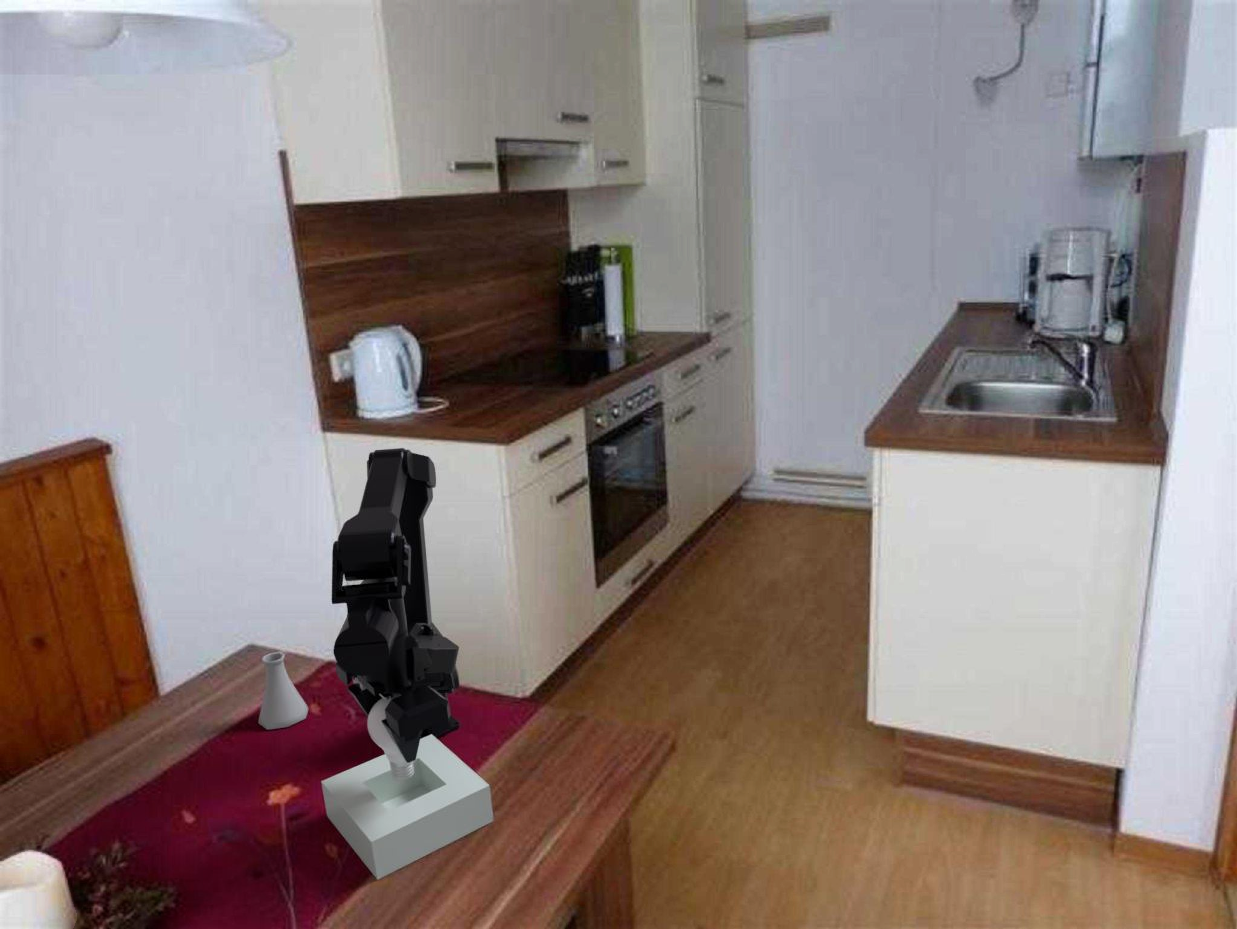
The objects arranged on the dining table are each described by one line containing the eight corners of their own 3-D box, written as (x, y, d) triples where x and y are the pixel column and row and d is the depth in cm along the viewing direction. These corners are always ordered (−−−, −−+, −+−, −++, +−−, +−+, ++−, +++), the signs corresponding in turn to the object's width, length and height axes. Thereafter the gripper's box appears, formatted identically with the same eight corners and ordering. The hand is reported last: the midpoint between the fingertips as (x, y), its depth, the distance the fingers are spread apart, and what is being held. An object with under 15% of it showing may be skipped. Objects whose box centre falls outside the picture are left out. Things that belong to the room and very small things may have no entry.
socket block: (327, 816, 116) (321, 781, 115) (436, 767, 125) (431, 734, 124) (377, 879, 105) (371, 842, 103) (493, 820, 113) (489, 785, 112)
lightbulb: (440, 778, 113) (428, 697, 110) (392, 802, 109) (379, 718, 106) (413, 756, 118) (402, 678, 115) (367, 779, 114) (354, 698, 111)
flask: (255, 713, 141) (243, 653, 138) (304, 699, 144) (294, 640, 142) (262, 736, 135) (250, 674, 132) (313, 720, 138) (302, 659, 135)
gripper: (484, 635, 105) (497, 756, 110) (410, 587, 120) (425, 695, 124) (392, 670, 99) (410, 796, 103) (325, 614, 113) (344, 727, 118)
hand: (399, 749), depth 112 cm, fingers closed on lightbulb, 6 cm apart
